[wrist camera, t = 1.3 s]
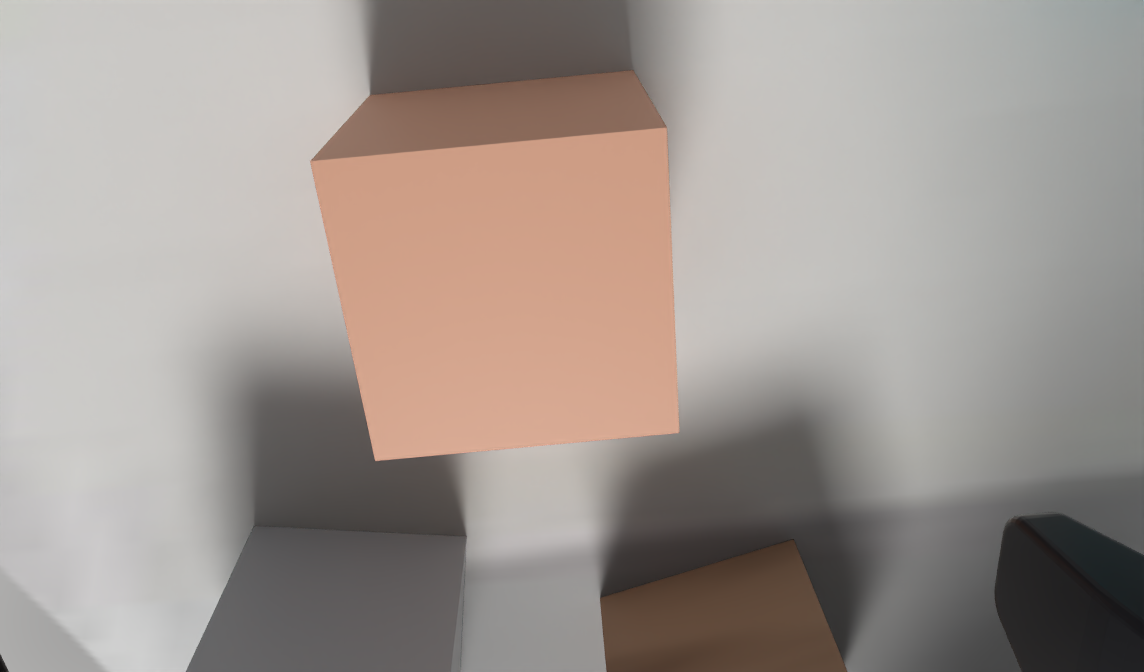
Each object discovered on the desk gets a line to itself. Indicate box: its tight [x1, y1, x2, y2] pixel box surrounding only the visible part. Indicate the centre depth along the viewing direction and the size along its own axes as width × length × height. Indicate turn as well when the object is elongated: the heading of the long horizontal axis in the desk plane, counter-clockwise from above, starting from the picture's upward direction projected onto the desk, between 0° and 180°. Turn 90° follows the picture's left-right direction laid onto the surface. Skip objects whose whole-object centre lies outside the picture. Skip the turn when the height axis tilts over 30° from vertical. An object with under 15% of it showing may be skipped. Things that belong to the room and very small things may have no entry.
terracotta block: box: [310, 70, 679, 461], centre depth 16 cm, size 5×5×5 cm
